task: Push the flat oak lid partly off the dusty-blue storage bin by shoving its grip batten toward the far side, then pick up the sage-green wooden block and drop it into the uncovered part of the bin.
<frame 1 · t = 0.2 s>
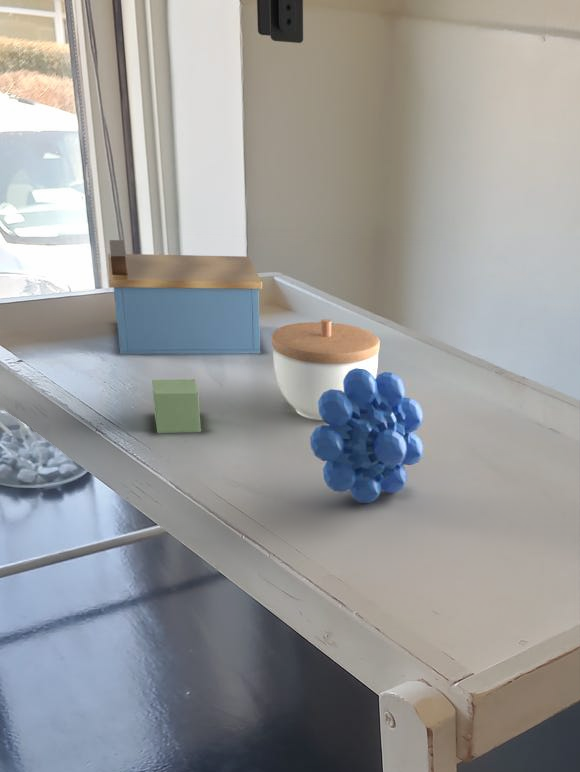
hand: (279, 38, 105), 32 cm above the table, tool pointing down, fingers open, 9 cm apart
bin lid: (183, 274, 117), point 8 cm above the table, touching bin
block: (177, 426, 98), on the table
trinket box: (325, 413, 105), on the table
bin: (188, 339, 121), on the table
blue knobbed wheel: (374, 508, 87), on the table
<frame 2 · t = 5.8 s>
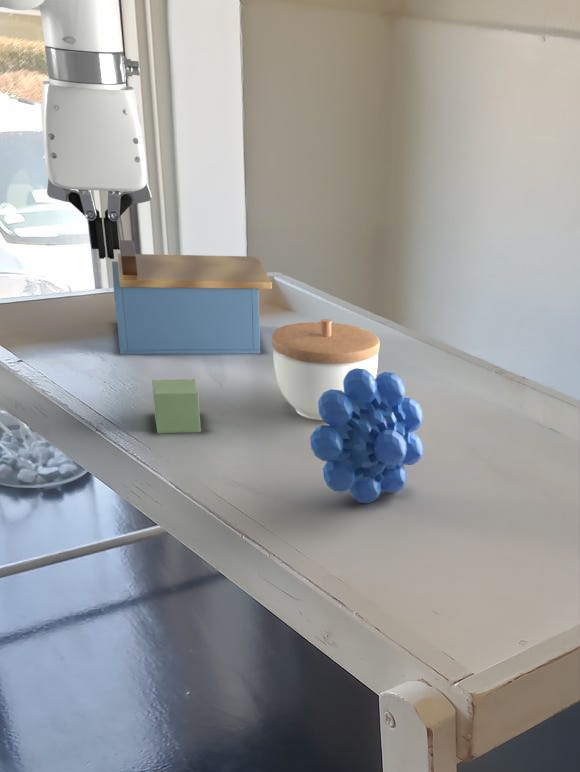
hand: (106, 255, 113), 10 cm above the table, tool pointing down, fingers closed
bin lid: (193, 274, 117), point 8 cm above the table, touching bin, gripper
everything else where it was.
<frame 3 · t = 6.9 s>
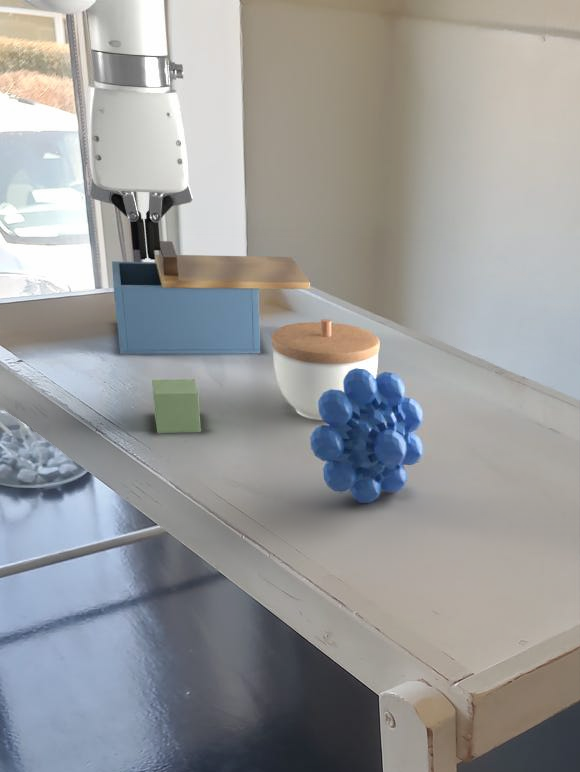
hand: (147, 256, 115), 10 cm above the table, tool pointing down, fingers closed
bin lid: (231, 275, 119), point 8 cm above the table, touching bin, gripper
everything else where it was.
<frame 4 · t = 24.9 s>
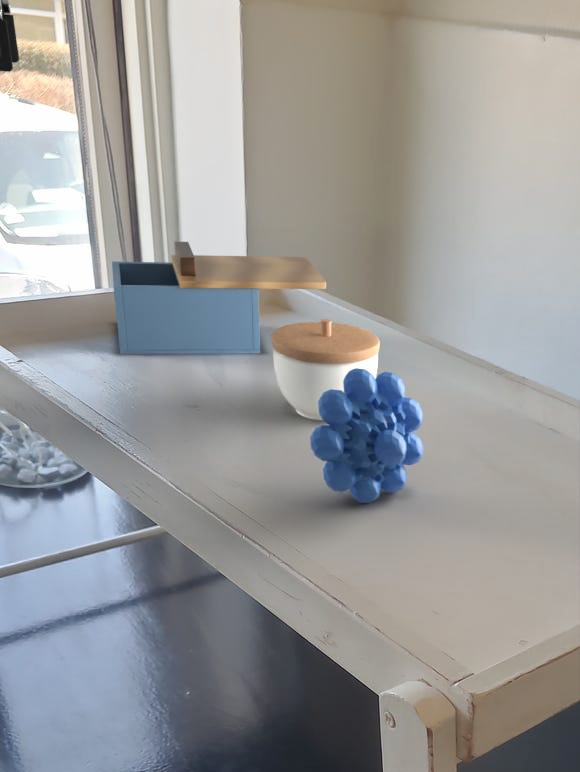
bin lid: (247, 275, 119), point 8 cm above the table, touching bin
block: (149, 335, 119), point 1 cm above the table, touching bin
everything else where it was.
at the end: bin lid 2.0 cm from the target spot on the bin, point 7.6 cm above the bin's base; block inside the target area in the bin (4.4 cm from its centre), point 0.6 cm above the bin's base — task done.
